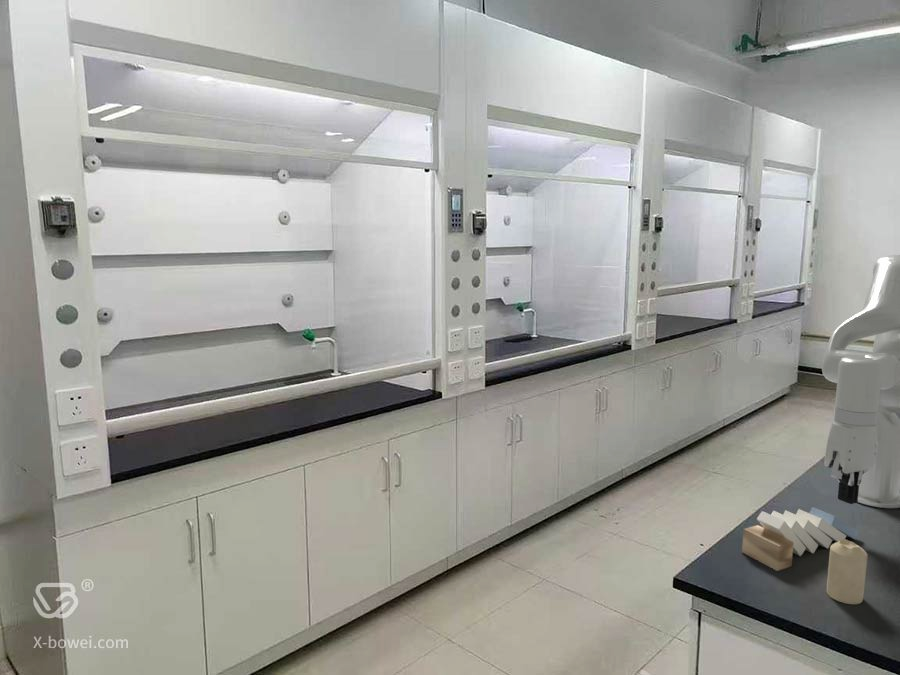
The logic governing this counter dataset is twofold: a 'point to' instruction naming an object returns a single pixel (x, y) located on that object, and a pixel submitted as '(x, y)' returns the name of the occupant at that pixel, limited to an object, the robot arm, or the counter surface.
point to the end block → (767, 547)
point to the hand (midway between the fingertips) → (847, 501)
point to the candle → (846, 572)
